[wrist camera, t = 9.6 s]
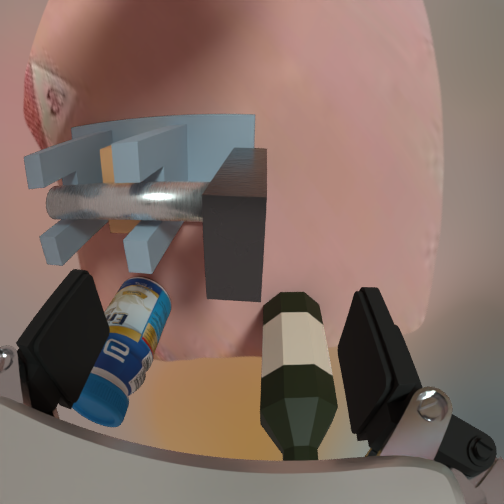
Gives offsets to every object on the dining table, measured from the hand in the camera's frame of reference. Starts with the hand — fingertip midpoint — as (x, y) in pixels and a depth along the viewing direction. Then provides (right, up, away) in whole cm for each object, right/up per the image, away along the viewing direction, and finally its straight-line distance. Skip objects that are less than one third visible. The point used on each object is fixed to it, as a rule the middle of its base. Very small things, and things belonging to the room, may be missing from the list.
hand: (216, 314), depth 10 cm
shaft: (-7, +9, +18) cm, 21 cm away
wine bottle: (+7, -6, +31) cm, 33 cm away
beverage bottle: (-14, -5, +31) cm, 35 cm away
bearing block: (-10, +12, +22) cm, 27 cm away
